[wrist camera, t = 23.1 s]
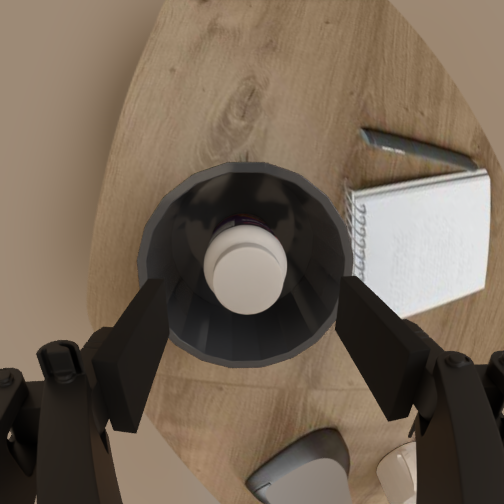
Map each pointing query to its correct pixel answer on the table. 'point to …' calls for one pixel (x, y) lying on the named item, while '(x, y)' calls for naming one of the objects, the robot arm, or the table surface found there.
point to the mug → (399, 474)
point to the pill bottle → (245, 264)
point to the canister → (289, 235)
